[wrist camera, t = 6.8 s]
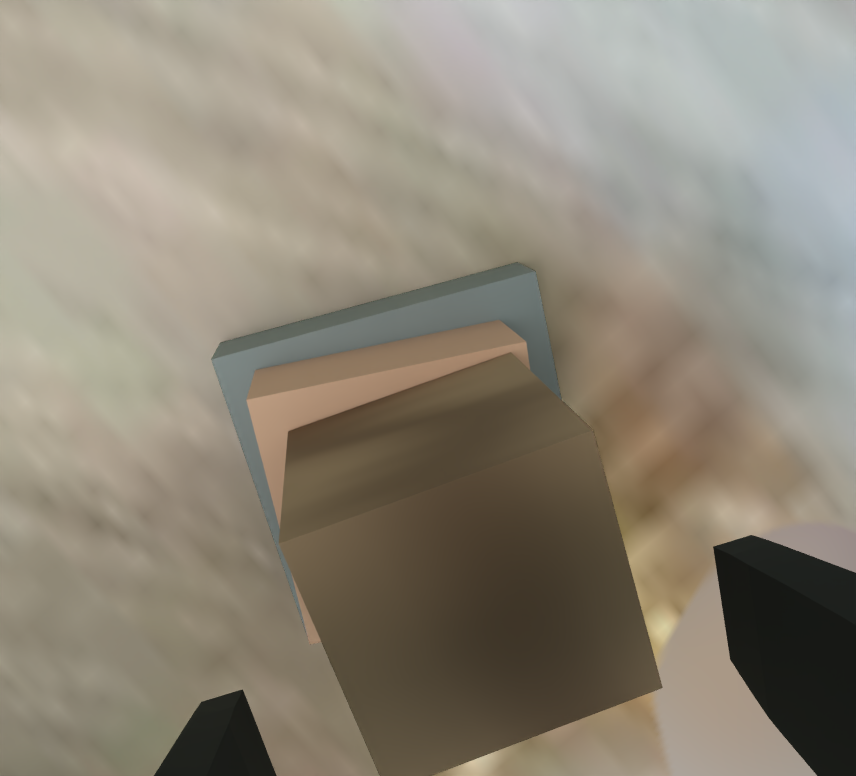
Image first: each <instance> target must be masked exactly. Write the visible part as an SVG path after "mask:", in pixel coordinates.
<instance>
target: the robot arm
mask: <svg viewBox="0 0 856 776" xmlns="http://www.w3.org/2000/svg"><path fill="white" fill-rule="evenodd" d="M713 548H714V555H715V561H716V568H717V575H718V581H719V588H720V594H721V601H722V608H723V614H724V620H725V627H726V634H727V641H728V647H729V653H730V660H731V661H732V663H733V664H734V666H735V667H736V669H737V670H738V672H739V674H740V675H741V677H742V678H743V680H744V681H745V683H746V685H747V686H748V688H749V689H750V691H751V692H752V694H753V695H754V697H755V698H756V700H757V701H758V703H759V704H760V706H761V707H762V709H763V710H764V711H765V713H766V714H767V716H768V717H769V719H770V720H771V721H772V722H773V724H774V725H775V726H776V727H777V728H778V730H779V731H780V732H781V733H782V734H783V736H784V737H785V738H786V739H787V740H788V742H789V743H790V744H791V745H792V746H793V747H794V749H795V750H796V751H797V752H798V753H799V755H800V756H801V757H802V758H803V759H804V760H805V762H806V763H807V764H808V765H809V766H810V768H811V769H812V770H813V771H814V772H815V773H816V775H817V776H856V573H855V572H852V571H849V570H846V569H844V568H841V567H839V566H836V565H833V564H831V563H828V562H825V561H823V560H820V559H817V558H815V557H812V556H809V555H807V554H804V553H801V552H799V551H796V550H793V549H791V548H788V547H785V546H783V545H780V544H777V543H774V542H771V541H769V540H766V539H763V538H759V537H756V536H753V535H750V536H747V537H744V538H740V539H737V540H734V541H731V542H727V543H724V544H721V545H717V546H714V547H713ZM154 776H276V774H275V771H274V768H273V766H272V763H271V761H270V758H269V756H268V753H267V750H266V748H265V745H264V743H263V740H262V738H261V735H260V732H259V730H258V727H257V725H256V722H255V720H254V717H253V714H252V712H251V709H250V707H249V704H248V702H247V699H246V696H245V694H244V691H243V690H239V691H236V692H233V693H230V694H226V695H223V696H220V697H216V698H213V699H210V700H206V701H203V702H201V703H200V705H199V706H198V708H197V709H196V711H195V712H194V714H193V715H192V717H191V718H190V720H189V721H188V723H187V725H186V726H185V728H184V729H183V731H182V732H181V734H180V736H179V737H178V739H177V740H176V742H175V744H174V745H173V747H172V748H171V750H170V751H169V753H168V755H167V756H166V758H165V759H164V761H163V762H162V764H161V766H160V767H159V769H158V770H157V772H156V773H155V775H154Z"/></svg>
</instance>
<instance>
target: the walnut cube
mask: <svg viewBox="0 0 856 776" xmlns="http://www.w3.org/2000/svg"><path fill="white" fill-rule="evenodd" d="M279 546H280V548H281V551H282V553H283V555H284V557H285V560H286V562H287V564H288V567H289V569H290V571H291V573H292V576H293V578H294V580H295V583H296V585H297V587H298V589H299V592H300V594H301V596H302V599H303V601H304V603H305V606H306V608H307V610H308V612H309V615H310V617H311V619H312V622H313V624H314V626H315V628H316V631H317V633H318V635H319V638H320V640H321V642H322V644H323V647H324V649H325V651H326V654H327V656H328V658H329V660H330V663H331V665H332V667H333V670H334V672H335V674H336V677H337V679H338V681H339V683H340V686H341V688H342V690H343V693H344V695H345V697H346V699H347V702H348V704H349V706H350V709H351V711H352V713H353V715H354V718H355V720H356V722H357V725H358V727H359V729H360V731H361V734H362V736H363V738H364V741H365V743H366V745H367V748H368V750H369V752H370V754H371V757H372V759H373V761H374V764H375V766H376V768H377V770H378V773H379V775H380V776H432V775H434V774H437V773H440V772H442V771H445V770H448V769H450V768H453V767H455V766H458V765H461V764H463V763H466V762H469V761H471V760H474V759H476V758H479V757H482V756H484V755H487V754H490V753H492V752H495V751H498V750H500V749H503V748H505V747H508V746H511V745H513V744H516V743H519V742H521V741H524V740H526V739H529V738H532V737H534V736H537V735H540V734H542V733H545V732H548V731H550V730H553V729H555V728H558V727H561V726H563V725H566V724H569V723H571V722H574V721H576V720H579V719H582V718H584V717H587V716H590V715H592V714H595V713H598V712H600V711H603V710H605V709H608V708H611V707H613V706H616V705H619V704H621V703H624V702H626V701H629V700H632V699H634V698H637V697H640V696H642V695H645V694H648V693H650V692H653V691H655V690H658V689H661V688H662V684H661V680H660V677H659V673H658V669H657V665H656V662H655V658H654V654H653V651H652V647H651V643H650V639H649V636H648V632H647V628H646V625H645V621H644V617H643V613H642V610H641V606H640V602H639V599H638V595H637V591H636V587H635V584H634V580H633V576H632V573H631V569H630V565H629V561H628V558H627V554H626V550H625V547H624V543H623V539H622V536H621V532H620V528H619V524H618V521H617V517H616V513H615V510H614V506H613V502H612V498H611V495H610V491H609V487H608V484H607V480H606V476H605V472H604V469H603V465H602V461H601V458H600V454H599V450H598V446H597V443H596V439H595V435H594V432H593V430H592V429H591V428H590V427H589V426H588V425H587V424H586V423H585V422H584V421H583V420H582V419H581V418H580V417H579V416H578V415H577V414H576V413H575V412H573V411H572V410H571V409H570V408H569V407H568V406H567V405H566V404H565V403H564V402H563V401H562V400H561V399H560V398H559V397H558V396H557V395H556V394H555V393H553V392H552V391H551V390H550V389H549V388H548V387H547V386H546V385H545V384H544V383H543V382H542V381H541V380H540V379H539V378H538V377H537V376H536V375H535V374H533V373H532V372H531V371H530V370H529V369H528V368H527V367H526V366H525V365H524V364H523V363H522V362H521V361H520V360H519V359H518V358H517V357H516V356H515V355H513V354H512V353H511V352H510V353H508V354H505V355H502V356H499V357H496V358H493V359H491V360H488V361H485V362H482V363H479V364H477V365H474V366H471V367H468V368H465V369H462V370H460V371H457V372H454V373H451V374H448V375H446V376H443V377H440V378H437V379H434V380H432V381H429V382H426V383H423V384H420V385H417V386H415V387H412V388H409V389H406V390H403V391H401V392H398V393H395V394H392V395H389V396H386V397H384V398H381V399H378V400H375V401H372V402H370V403H367V404H364V405H361V406H358V407H355V408H353V409H350V410H347V411H344V412H341V413H339V414H336V415H333V416H330V417H327V418H324V419H322V420H319V421H316V422H313V423H310V424H308V425H305V426H302V427H299V428H296V429H294V430H291V431H288V437H287V449H286V461H285V473H284V485H283V497H282V509H281V521H280V533H279Z"/></svg>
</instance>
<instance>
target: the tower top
mask: <svg viewBox="0 0 856 776" xmlns="http://www.w3.org/2000/svg"><path fill="white" fill-rule="evenodd" d="M510 352H511V353H512V354H513V355H515V356H516V357H517V358H518V359H519V360H520V361H521V362H522V363H523V364H524V365H525V366H526V367H527V368H528V369H529V370H530V365H529V358H528V351H527V344H526V341H525V340H524V339H522V338H521V337H520V336H519V335H518V334H516V333H515V332H514V331H513V330H511V329H510V328H509V327H508V326H506V325H505V324H504V323H503V322H502V321H500V320H496V321H491V322H486V323H481V324H476V325H471V326H467V327H462V328H457V329H452V330H447V331H442V332H437V333H433V334H428V335H423V336H418V337H413V338H408V339H403V340H399V341H394V342H389V343H384V344H379V345H374V346H369V347H365V348H360V349H355V350H350V351H345V352H340V353H335V354H331V355H326V356H321V357H316V358H311V359H306V360H301V361H297V362H292V363H287V364H282V365H277V366H272V367H267V368H263V369H258V370H255V372H254V376H253V379H252V382H251V386H250V389H249V393H248V396H247V399H246V401H247V405H248V408H249V412H250V416H251V420H252V424H253V428H254V432H255V435H256V439H257V443H258V447H259V451H260V455H261V459H262V462H263V466H264V470H265V474H266V478H267V482H268V486H269V489H270V493H271V497H272V501H273V505H274V509H275V513H276V516H277V520H278V524H279V528H280V521H281V509H282V497H283V485H284V473H285V461H286V449H287V437H288V431H291V430H294V429H296V428H299V427H302V426H305V425H308V424H310V423H313V422H316V421H319V420H322V419H324V418H327V417H330V416H333V415H336V414H339V413H341V412H344V411H347V410H350V409H353V408H355V407H358V406H361V405H364V404H367V403H370V402H372V401H375V400H378V399H381V398H384V397H386V396H389V395H392V394H395V393H398V392H401V391H403V390H406V389H409V388H412V387H415V386H417V385H420V384H423V383H426V382H429V381H432V380H434V379H437V378H440V377H443V376H446V375H448V374H451V373H454V372H457V371H460V370H462V369H465V368H468V367H471V366H474V365H477V364H479V363H482V362H485V361H488V360H491V359H493V358H496V357H499V356H502V355H505V354H508V353H510ZM291 574H292V573H291ZM292 578H293V576H292ZM293 582H294V586H295V590H296V593H297V597H298V601H299V605H300V609H301V613H302V617H303V620H304V624H305V628H306V632H307V636H308V640H309V644H310V645H311V644H315V643H319V642H321V640H320V638H319V635H318V633H317V631H316V628H315V626H314V624H313V622H312V619H311V617H310V615H309V612H308V610H307V608H306V606H305V603H304V601H303V599H302V596H301V594H300V592H299V589H298V587H297V585H296V583H295V580H294V578H293Z"/></svg>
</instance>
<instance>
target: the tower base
mask: <svg viewBox="0 0 856 776" xmlns="http://www.w3.org/2000/svg"><path fill="white" fill-rule="evenodd" d="M496 320H500V321H502V322H503V323H504V324H505V325H506V326H508V327H509V328H510V329H511V330H513V331H514V332H515V333H516V334H518V335H519V336H520V337H521V338H522V339H524V340H525V341H526V344H527V351H528V358H529V365H530V371H531V372H532V373H533V374H535V375H536V376H537V377H538V378H539V379H540V380H541V381H542V382H543V383H544V384H545V385H546V386H547V387H548V388H549V389H550V390H551V391H552V392H553V393H555V394H556V395H557V396H558V397H559V398H560V399H561V394H560V389H559V384H558V379H557V374H556V369H555V365H554V360H553V355H552V350H551V345H550V340H549V335H548V330H547V325H546V320H545V315H544V310H543V305H542V300H541V295H540V291H539V286H538V281H537V276H536V271H534V270H532V269H530V268H528V267H526V266H524V265H522V264H520V263H518V262H516V263H513V264H509V265H505V266H502V267H498V268H494V269H491V270H487V271H483V272H480V273H476V274H472V275H469V276H465V277H461V278H457V279H454V280H450V281H446V282H443V283H439V284H435V285H432V286H428V287H424V288H421V289H417V290H413V291H410V292H406V293H402V294H399V295H395V296H391V297H387V298H384V299H380V300H376V301H373V302H369V303H365V304H362V305H358V306H354V307H351V308H347V309H343V310H340V311H336V312H332V313H328V314H325V315H321V316H317V317H314V318H310V319H306V320H303V321H299V322H295V323H292V324H288V325H284V326H281V327H277V328H273V329H269V330H266V331H262V332H258V333H255V334H251V335H247V336H244V337H240V338H236V339H233V340H229V341H225V342H222V343H220V344H219V346H218V348H217V350H216V352H215V354H214V356H213V357H212V359H211V360H212V363H213V366H214V369H215V371H216V374H217V377H218V380H219V383H220V386H221V389H222V392H223V395H224V397H225V400H226V403H227V406H228V409H229V412H230V415H231V418H232V420H233V423H234V426H235V429H236V432H237V435H238V438H239V441H240V444H241V446H242V449H243V452H244V455H245V458H246V461H247V464H248V467H249V470H250V472H251V475H252V478H253V481H254V484H255V487H256V490H257V493H258V496H259V498H260V501H261V504H262V507H263V510H264V513H265V516H266V519H267V521H268V524H269V527H270V530H271V533H272V536H273V539H274V542H275V545H276V547H277V550H278V553H279V556H280V559H281V562H282V565H283V568H284V571H285V573H286V576H287V579H288V582H289V585H290V588H291V591H292V594H293V597H294V599H295V602H296V605H297V608H298V611H299V614H300V617H301V620H302V623H303V625H304V628H305V624H304V620H303V617H302V613H301V609H300V605H299V601H298V597H297V593H296V590H295V586H294V582H293V578H292V574H291V571H290V569H289V567H288V564H287V562H286V560H285V557H284V555H283V553H282V551H281V548H280V546H279V533H280V528H279V524H278V520H277V516H276V513H275V509H274V505H273V501H272V497H271V493H270V489H269V486H268V482H267V478H266V474H265V470H264V466H263V462H262V459H261V455H260V451H259V447H258V443H257V439H256V435H255V432H254V428H253V424H252V420H251V416H250V412H249V408H248V405H247V401H246V399H247V396H248V393H249V389H250V386H251V382H252V379H253V376H254V372H255V370H258V369H263V368H267V367H272V366H277V365H282V364H287V363H292V362H297V361H301V360H306V359H311V358H316V357H321V356H326V355H331V354H335V353H340V352H345V351H350V350H355V349H360V348H365V347H369V346H374V345H379V344H384V343H389V342H394V341H399V340H403V339H408V338H413V337H418V336H423V335H428V334H433V333H437V332H442V331H447V330H452V329H457V328H462V327H467V326H471V325H476V324H481V323H486V322H491V321H496ZM561 400H562V399H561ZM305 631H306V628H305ZM306 634H307V632H306ZM307 637H308V636H307Z"/></svg>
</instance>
